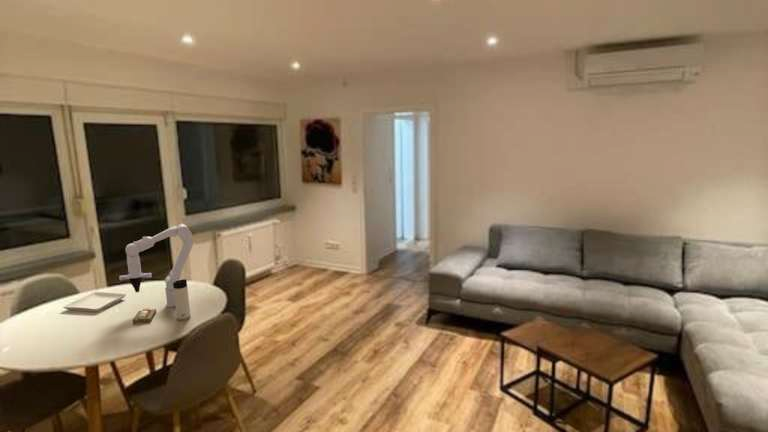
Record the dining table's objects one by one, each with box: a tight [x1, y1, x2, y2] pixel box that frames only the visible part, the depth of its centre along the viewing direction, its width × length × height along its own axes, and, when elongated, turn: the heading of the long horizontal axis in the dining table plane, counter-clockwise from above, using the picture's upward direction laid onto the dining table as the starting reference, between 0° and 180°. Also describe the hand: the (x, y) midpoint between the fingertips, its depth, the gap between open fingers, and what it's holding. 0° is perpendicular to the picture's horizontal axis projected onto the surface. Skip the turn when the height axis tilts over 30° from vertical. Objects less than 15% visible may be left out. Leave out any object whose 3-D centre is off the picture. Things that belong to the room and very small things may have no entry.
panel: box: [132, 308, 157, 325], centre depth 216 cm, size 8×12×2 cm, turn 16°
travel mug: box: [173, 278, 191, 322], centre depth 214 cm, size 6×7×20 cm
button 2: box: [142, 307, 151, 314], centre depth 219 cm, size 3×3×3 cm
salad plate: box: [62, 291, 127, 312], centre depth 234 cm, size 21×21×3 cm
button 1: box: [139, 314, 146, 319], centre depth 212 cm, size 3×3×3 cm
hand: (137, 291), depth 224 cm, fingers closed
